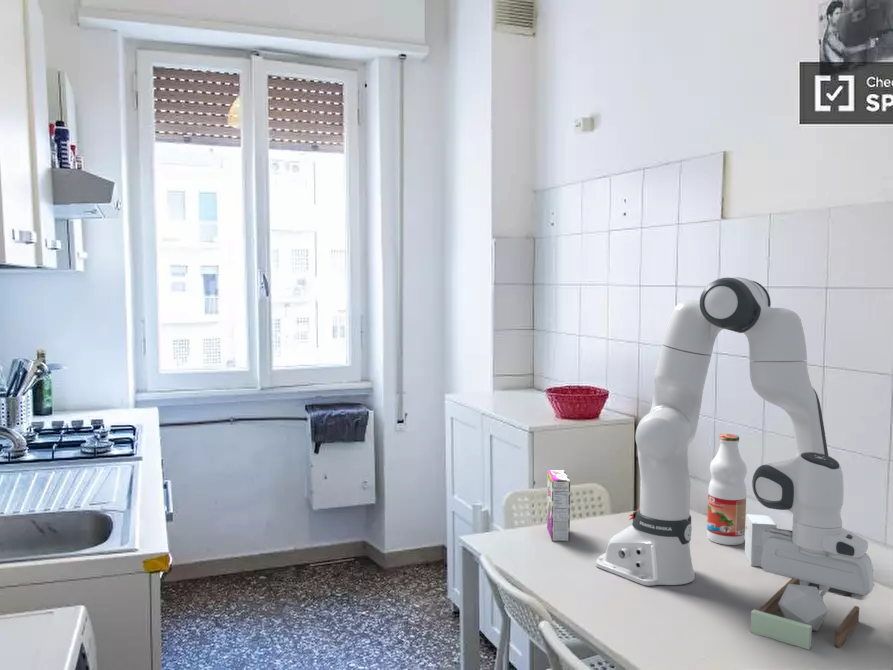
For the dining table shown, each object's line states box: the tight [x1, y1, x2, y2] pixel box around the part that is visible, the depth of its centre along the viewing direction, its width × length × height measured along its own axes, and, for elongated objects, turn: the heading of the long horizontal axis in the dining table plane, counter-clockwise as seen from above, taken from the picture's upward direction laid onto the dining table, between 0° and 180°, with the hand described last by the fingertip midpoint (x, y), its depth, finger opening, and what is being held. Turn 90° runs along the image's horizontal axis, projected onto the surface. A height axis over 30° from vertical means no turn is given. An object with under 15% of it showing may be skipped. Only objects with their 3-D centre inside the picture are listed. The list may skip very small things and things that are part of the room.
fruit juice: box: [706, 433, 747, 546], centre depth 197 cm, size 9×9×28 cm
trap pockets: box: [808, 583, 855, 598], centre depth 169 cm, size 10×12×2 cm
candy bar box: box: [546, 469, 571, 542], centre depth 199 cm, size 11×5×16 cm, turn 179°
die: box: [778, 584, 829, 632], centre depth 147 cm, size 8×9×10 cm
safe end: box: [749, 609, 813, 650], centre depth 141 cm, size 10×2×4 cm, turn 49°
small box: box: [744, 513, 777, 567], centre depth 182 cm, size 8×6×10 cm
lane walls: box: [757, 578, 860, 649], centre depth 152 cm, size 15×32×3 cm, turn 139°
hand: (813, 603), depth 149 cm, fingers closed, pressing on die
